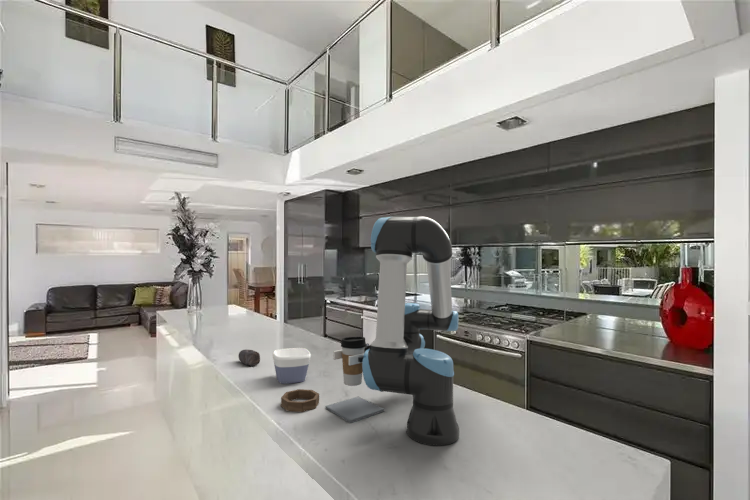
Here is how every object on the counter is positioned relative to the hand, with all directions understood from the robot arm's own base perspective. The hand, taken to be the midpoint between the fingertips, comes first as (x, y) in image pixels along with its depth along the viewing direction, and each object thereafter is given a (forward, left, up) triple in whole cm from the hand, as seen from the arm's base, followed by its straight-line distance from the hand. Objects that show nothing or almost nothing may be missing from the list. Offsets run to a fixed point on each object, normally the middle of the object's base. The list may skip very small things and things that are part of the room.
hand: (341, 358), depth 118 cm
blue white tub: (+41, -4, -18) cm, 45 cm away
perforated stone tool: (+73, +2, -18) cm, 75 cm away
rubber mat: (0, -6, -18) cm, 19 cm away
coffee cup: (0, -5, -9) cm, 10 cm away
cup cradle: (+15, +6, -18) cm, 24 cm away
